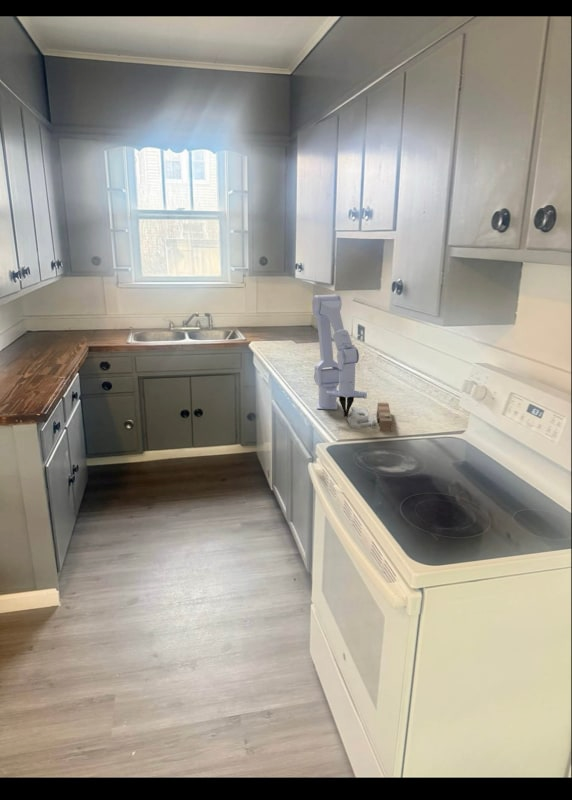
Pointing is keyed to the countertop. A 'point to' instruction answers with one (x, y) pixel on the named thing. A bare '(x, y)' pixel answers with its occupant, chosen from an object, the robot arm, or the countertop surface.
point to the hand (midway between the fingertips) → (345, 416)
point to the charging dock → (384, 417)
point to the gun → (360, 418)
